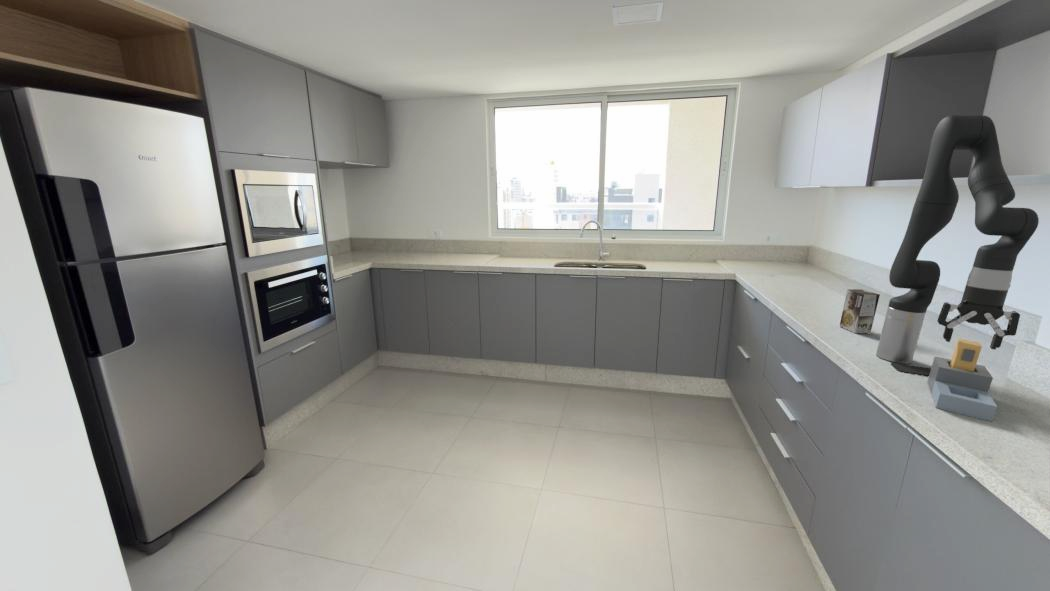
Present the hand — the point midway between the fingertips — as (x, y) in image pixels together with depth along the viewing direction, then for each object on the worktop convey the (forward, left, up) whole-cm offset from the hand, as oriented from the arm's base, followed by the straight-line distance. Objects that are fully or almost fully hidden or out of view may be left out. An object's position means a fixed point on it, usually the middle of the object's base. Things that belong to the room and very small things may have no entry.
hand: (969, 344), depth 112 cm
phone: (-14, -5, -15) cm, 21 cm away
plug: (0, 0, -9) cm, 9 cm away
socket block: (+5, 0, -14) cm, 15 cm away
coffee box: (-51, -23, -15) cm, 58 cm away
